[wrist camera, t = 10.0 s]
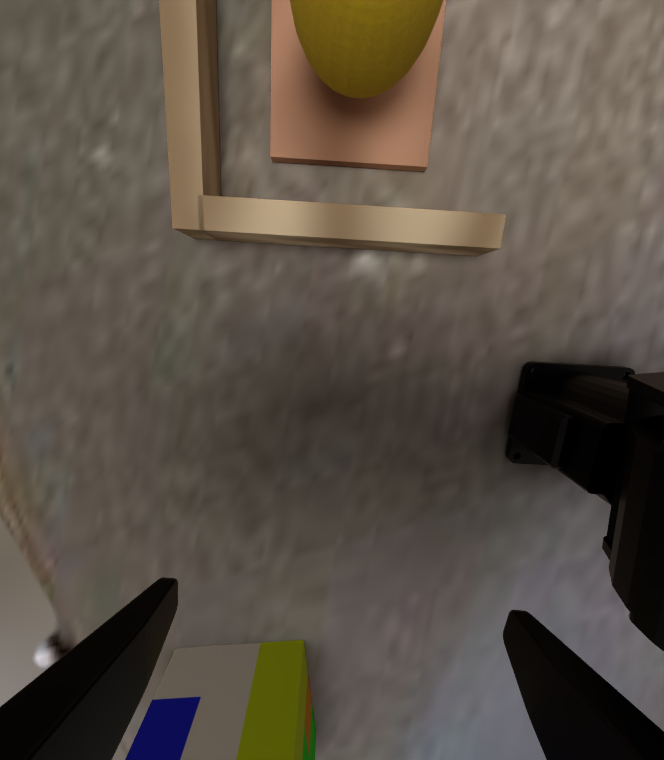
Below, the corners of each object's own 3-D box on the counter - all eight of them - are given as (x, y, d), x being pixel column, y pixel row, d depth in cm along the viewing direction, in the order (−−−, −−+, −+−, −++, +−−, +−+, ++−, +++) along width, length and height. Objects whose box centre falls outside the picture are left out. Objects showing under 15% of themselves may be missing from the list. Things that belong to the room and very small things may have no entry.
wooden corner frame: (536, -130, 14) (581, -223, 11) (476, 256, 18) (500, 248, 15) (177, -160, 14) (143, -261, 11) (194, 238, 17) (172, 228, 15)
